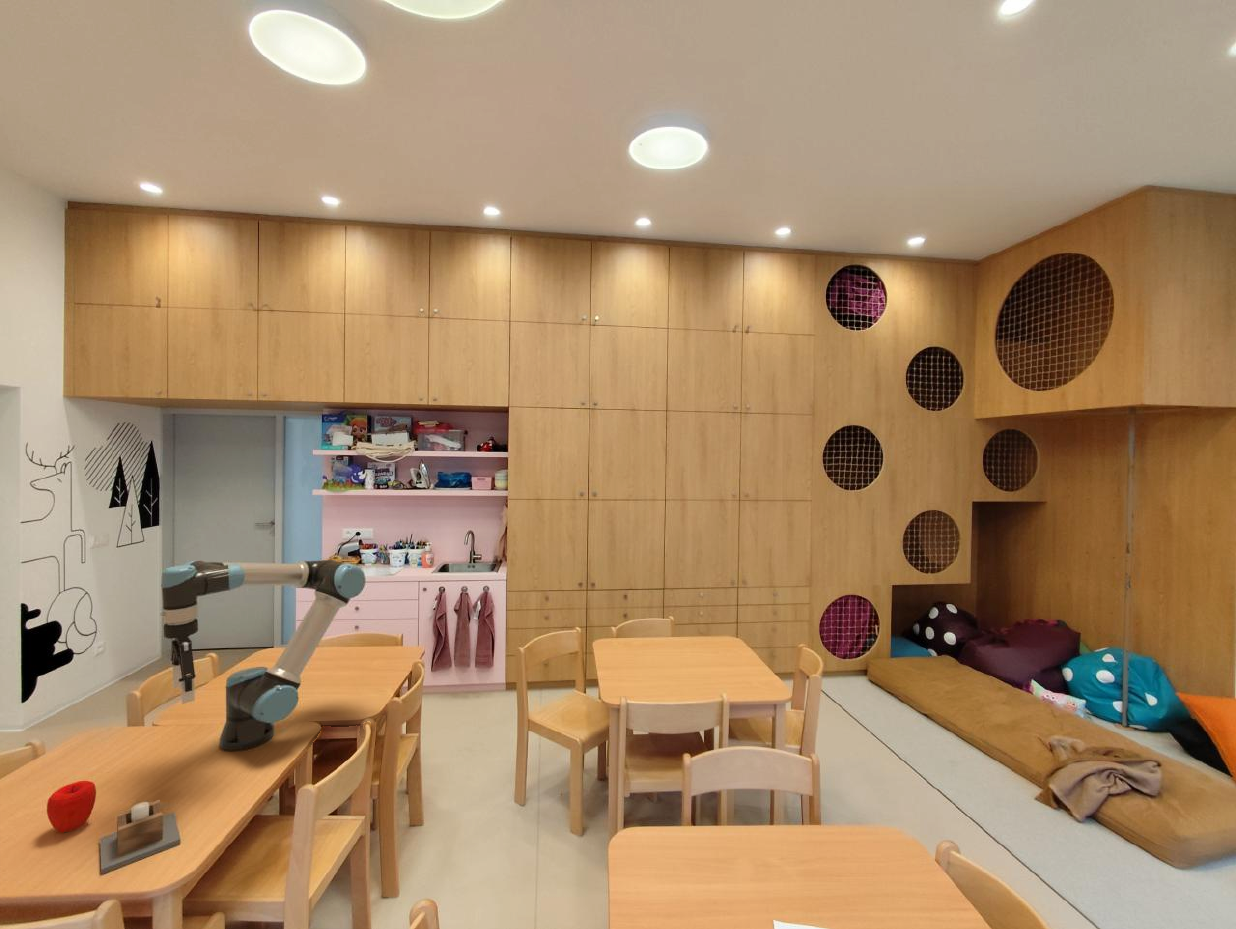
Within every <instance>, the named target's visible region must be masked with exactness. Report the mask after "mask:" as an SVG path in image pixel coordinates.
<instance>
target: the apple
mask: <svg viewBox="0 0 1236 929" xmlns="http://www.w3.org/2000/svg"><path fill="white" fill-rule="evenodd" d="M96 789H97V788H96V785H95V783H94V782H93V781H89V780H80V781H77V782H73V783H70V784H66V785H64V786H61V787H60V788H58V789H57V790H56V791H54V792H53V793H52V794H51V795H50V796H49V798H48V800H47V803H46V814H47V818H48V820H49V822H50V824H51V826H52V828H54V830H55V831H56V832H57V833H61V834H62V833H68V832H71V831H73V830H76V829H78V828H80V827H82V826H83V825H85V824H86V822H87V821H88V819H90V816H91V814H92V811H93V810H94V806H95V803H96V796H97V790H96Z"/></svg>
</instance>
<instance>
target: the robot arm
mask: <svg viewBox="0 0 1236 929" xmlns="http://www.w3.org/2000/svg"><path fill="white" fill-rule="evenodd" d="M242 586H244V587H246V586H247V587H248V586H249V587H250V586H251V587H252V586H253V587H254V586H261V587H262V586H294V587H295V588H297V589H309V590H314V597H315V599H314V601H313V602H312V604H311V606H310V607H309V609H308V610H307V612H306V613H305V615H304V617H303V618H302V620H301V622H300V623H299V625H298V627H297V629H296V630H295V631H294V633H293V635H292V636H291V637H290V640H289V641H288V643H287V645H286V646H285V648H284V650H283V651H282V653H281V654H280V655H279V658H278V660H277V661H276V663H275V664H274V666H272V667H270V668H268V667H266V666H255V667H250V668H245V669H242V670H239V671H236V672H233V673H231V674H230V675H229V676H228V677H227V678H226V682H225V717H226V718H225V723H224V726H223V728H222V731H221V733H220V736H219V742H218V743H219V744H218V745H219V748H220V749H221V750H223V751H226V752H227V751H228V752H236V751H237V752H238V751H244V750H249V749H251V748H255V747H257V746H260V745H262V744H264V743H266V742H267V741H269V740H271V738H273V736H274V735H275V725H274V723H278V722H279V721H282V720H284V719H286V718H287V717H289V716H290V715H291V714H292V713H293V711H294V710H296V709H295V708H296V706H297V705H298V702H299V698H300V697H299V691H298V689H299V688H300V686H301V684H302V680H301V675H302V674H303V672H304V670H305V669H306V667H307V664H308V663H309V661H310V660H311V658H312V656H313V655H314V653H315V651H316V650H317V648H318V647H319V645H320V643H321V641H322V639H323V637H324V636H325V634H326V632H327V630H328V629H329V627H330V626H331V624H332V622H333V621H334V618H335V617H336V616H337V614H338V612H339V610H340V609H342V608H343V607H346V606H347V605H348V604H349V602H350V600H351V599H353V598H355V597H357V596H359V595H360V594H361V593H362V591H363V590H364V588H365V587H366V576H365V572H364V570H363V569H362V568H361V567H360V566H359V565H357V564H354V563H351V562H344V561H337V560H333V559H326V560H325V559H323V560H322V559H321V560H301V561H298V562H297V563H277V562H276V563H273V562H230V561H229V562H228V561H226V562H225V561H224V562H222V561H220V562H219V561H216V562H215V561H213V562H212V561H211V562H210V561H203V560H190V561H188V562H187V563H184V564H183V565H175V566H170V567H166V568H165V569H163V571H162V572H161V586H160V587H161V594H162V595H161V597H162V610H163V611H162V612H161V613H159V614H160V615H159V616H160V617H163V623H164V625H163V636H164V638H166V639H171V654H170V655H171V656H170V657H171V658H170V661H171V665H172V682H173V683H172V684H173V685H172V686H173V689H178V688H180V690H181V704H182V705H184V704H187V703H191V702H195V700H196V699H195V698H196V697H195V694H196V693H195V678H196V672H195V671H196V670H195V665H194V656H193V654H194V653H193V642H192V640H191V639H190V638H189V637H190V636H192V635H194V634H197V632H198V631H199V624H198V623H199V622H198V619H197V618H198V616H199V614H198V612H199V609H198V597H202V596H207V595H212V594H217V593H218V594H219V593H222V592H226V591H232V590H235V589H238V588H241V587H242Z"/></svg>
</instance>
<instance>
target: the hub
mask: <svg viewBox="0 0 1236 929" xmlns="http://www.w3.org/2000/svg"><path fill="white" fill-rule="evenodd" d="M148 803H149V817H146V818H143V819H140V820H137V821H135V822H132V823H131V809H132V808H130V809H128V810H125V811H122V812H119V813H117V814H116V832H117V845H118V856H119V855H122V854H124V853H127V852H129V851H132V850H135V849H137V848H140V847H143V846H145V845H148V844H150V843H153V842H156V841H158V840H161V839H163V815H164V814H163V808H162V805H161V800H160V799H157V800H155V801H154V800H153V801H151V802H148Z"/></svg>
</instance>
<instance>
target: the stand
mask: <svg viewBox="0 0 1236 929" xmlns="http://www.w3.org/2000/svg"><path fill="white" fill-rule="evenodd" d="M149 803H150V802H148V801H143V802H140V803H139V802H138V803H137V804H135V805H133V806H132V807H131V808H130V809H131V823H132V822H135V821H137V820H140V819H143V818H146V817H149ZM99 844H100V845H99V848H100V850H99V851H100V875H101V876H102V875H104V874H107V873H110V872H112V871H114V870H118V869H120V868H123V867H124V866H125V867H126V866H128V865H129V864H132V863H135V862H137V861H140V860H143V859H145V858H148V857H150V856H152V855H153V856H154V855H155V854H158V853H160V852H162V851H165V850H168V849H171V848H173V847H176V846H178V845H181V835H180V832H179V827H178V824H177V818H176V816H175V812H174V811H172V812H169V813H166V814H163V839H161V840H158V841H156V842H153V843H150V844H148V845H145V846H143V847H140V848H137V849H135V850H132V851H129V852H127V853H124V854H122V855H119V856H118V845H117V831H116V832H113V833H109V834H107V835H104V836H101V837H99Z"/></svg>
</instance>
